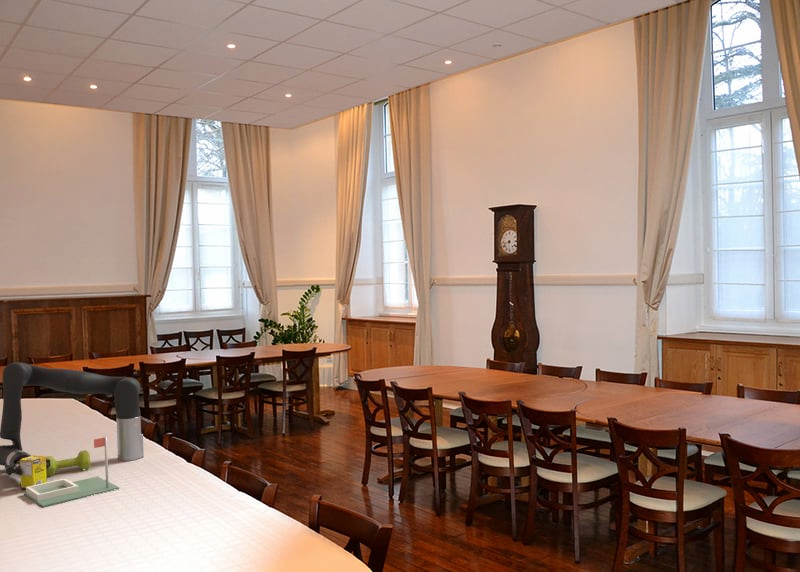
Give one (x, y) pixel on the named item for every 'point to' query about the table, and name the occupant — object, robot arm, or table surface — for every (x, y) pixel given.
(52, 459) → the dumbbell
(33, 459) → the supplement box
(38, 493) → the cup
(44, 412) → the table surface
